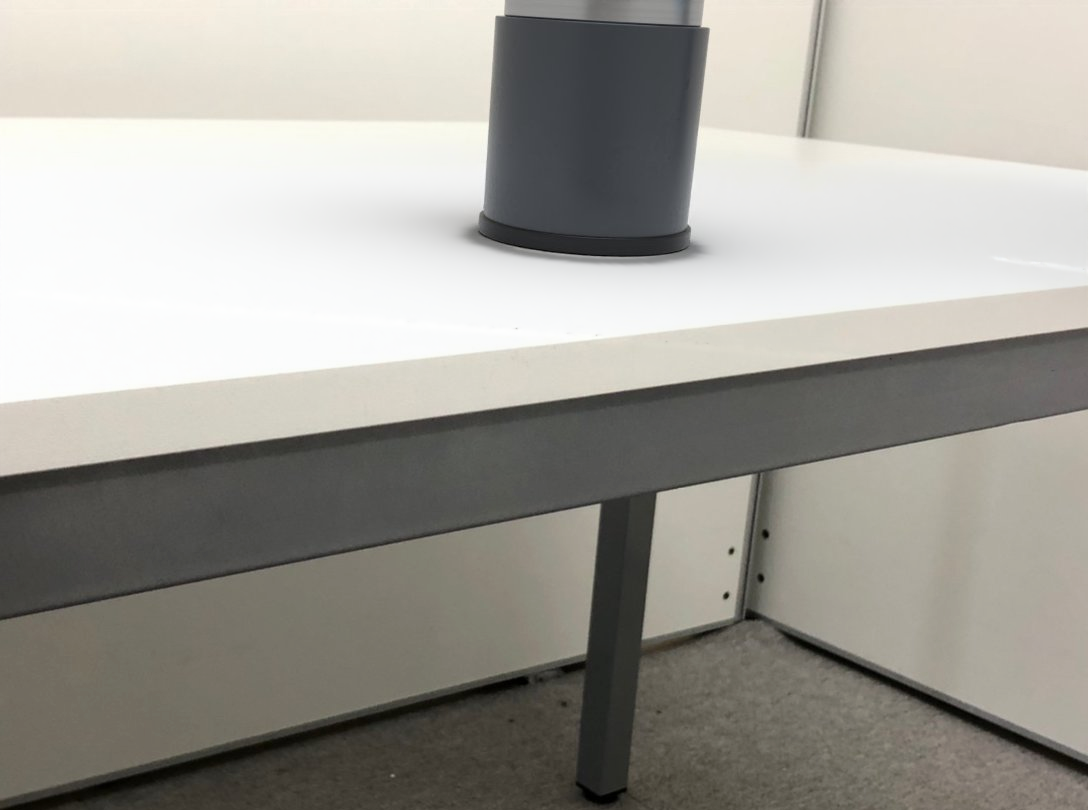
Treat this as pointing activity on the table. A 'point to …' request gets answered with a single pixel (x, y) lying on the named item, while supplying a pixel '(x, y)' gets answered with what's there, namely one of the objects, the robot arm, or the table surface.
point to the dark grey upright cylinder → (594, 125)
